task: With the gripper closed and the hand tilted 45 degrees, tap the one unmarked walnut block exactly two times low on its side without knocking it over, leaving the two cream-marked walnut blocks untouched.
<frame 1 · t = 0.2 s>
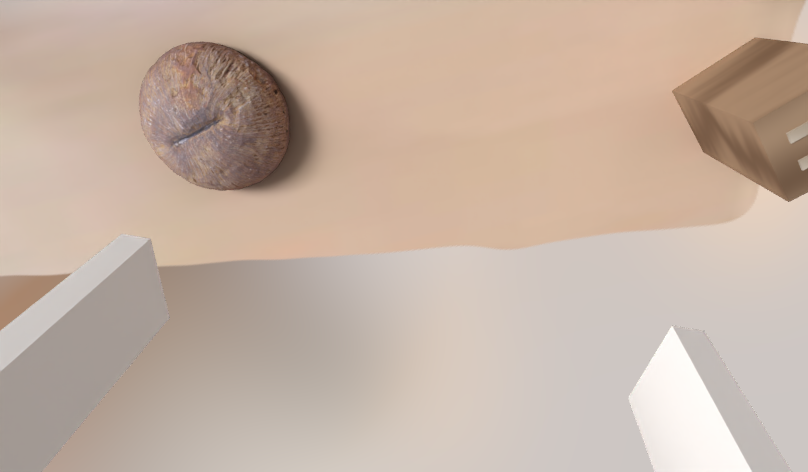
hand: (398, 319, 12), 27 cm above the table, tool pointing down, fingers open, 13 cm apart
marked block 1: (727, 98, 34), on the table
decorative stone: (223, 116, 38), on the table
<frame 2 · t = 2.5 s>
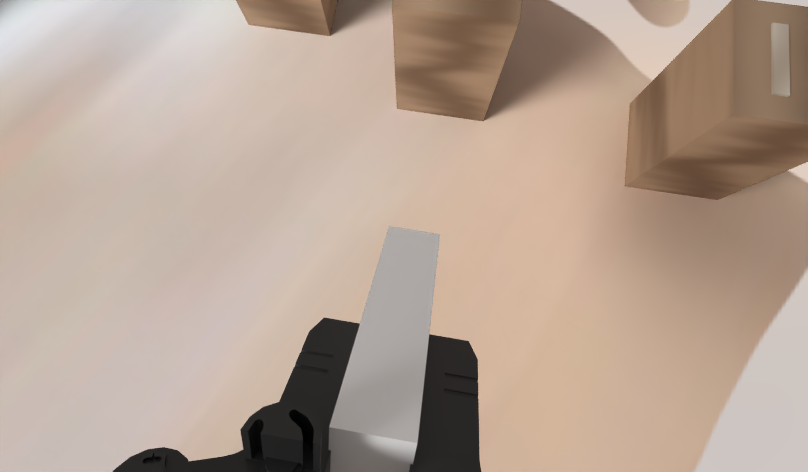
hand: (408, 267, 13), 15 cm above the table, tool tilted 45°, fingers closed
marked block 1: (672, 150, 30), on the table
unmarked block: (446, 76, 31), on the table
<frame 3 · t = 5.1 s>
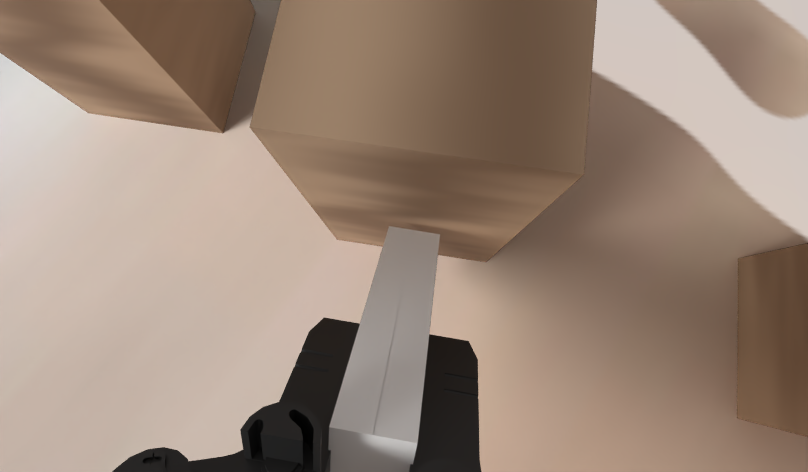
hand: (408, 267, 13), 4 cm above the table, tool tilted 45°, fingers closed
unmarked block: (422, 179, 18), on the table, touching gripper
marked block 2: (174, 61, 20), on the table
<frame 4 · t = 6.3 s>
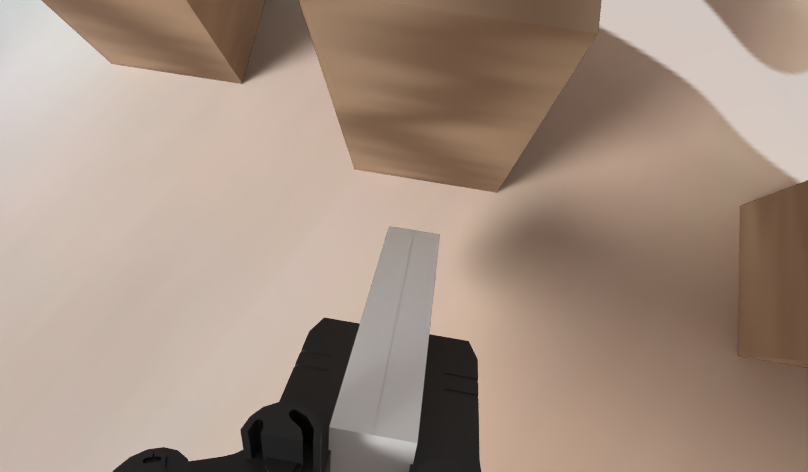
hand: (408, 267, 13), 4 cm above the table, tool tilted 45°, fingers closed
unmarked block: (436, 115, 19), on the table
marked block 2: (194, 15, 20), on the table
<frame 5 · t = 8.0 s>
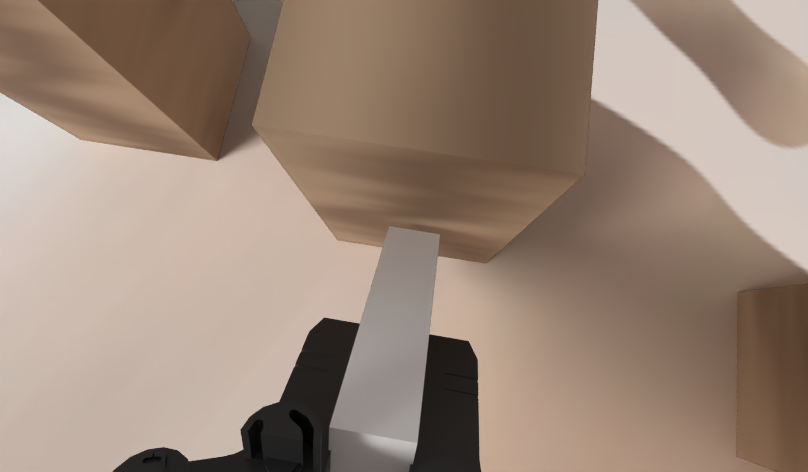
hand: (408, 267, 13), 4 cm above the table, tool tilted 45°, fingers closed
unmarked block: (422, 181, 18), on the table, touching gripper
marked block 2: (168, 86, 19), on the table
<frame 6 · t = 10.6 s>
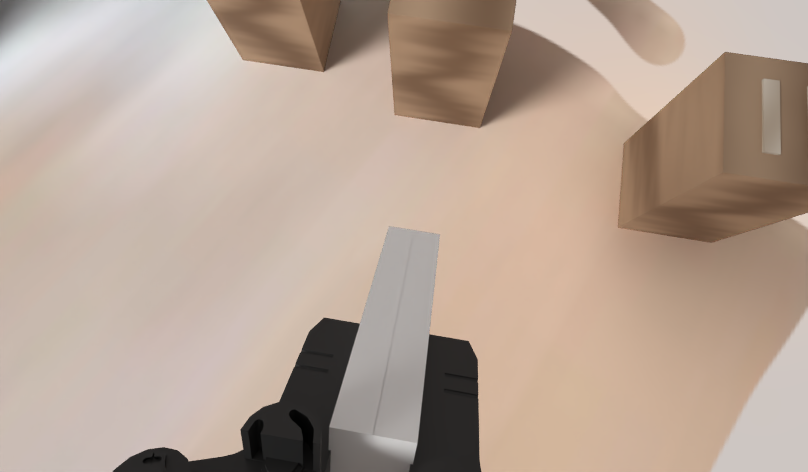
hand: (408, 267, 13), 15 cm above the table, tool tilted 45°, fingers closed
marked block 1: (666, 191, 29), on the table
unmarked block: (443, 83, 32), on the table
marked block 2: (292, 30, 33), on the table
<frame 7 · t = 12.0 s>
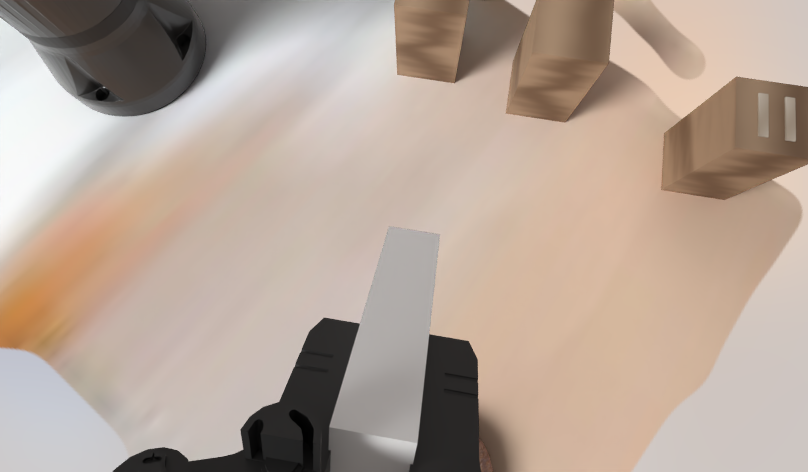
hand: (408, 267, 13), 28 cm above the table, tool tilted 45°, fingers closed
marked block 1: (693, 166, 44), on the table
unmarked block: (538, 91, 45), on the table
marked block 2: (430, 53, 47), on the table
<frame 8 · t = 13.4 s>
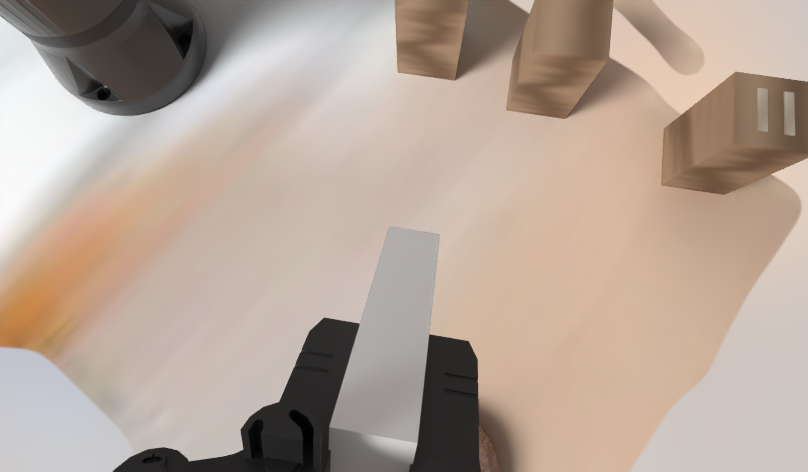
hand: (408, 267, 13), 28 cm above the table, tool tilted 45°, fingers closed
marked block 1: (693, 161, 44), on the table
unmarked block: (538, 88, 46), on the table
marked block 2: (430, 51, 47), on the table
decorative stone: (426, 470, 38), on the table
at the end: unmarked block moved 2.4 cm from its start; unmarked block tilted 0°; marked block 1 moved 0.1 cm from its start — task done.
